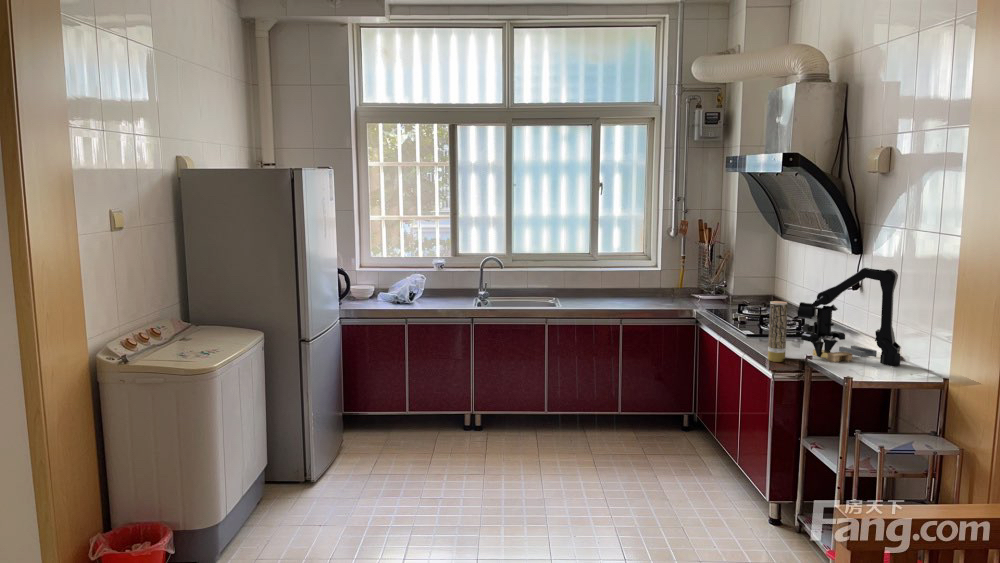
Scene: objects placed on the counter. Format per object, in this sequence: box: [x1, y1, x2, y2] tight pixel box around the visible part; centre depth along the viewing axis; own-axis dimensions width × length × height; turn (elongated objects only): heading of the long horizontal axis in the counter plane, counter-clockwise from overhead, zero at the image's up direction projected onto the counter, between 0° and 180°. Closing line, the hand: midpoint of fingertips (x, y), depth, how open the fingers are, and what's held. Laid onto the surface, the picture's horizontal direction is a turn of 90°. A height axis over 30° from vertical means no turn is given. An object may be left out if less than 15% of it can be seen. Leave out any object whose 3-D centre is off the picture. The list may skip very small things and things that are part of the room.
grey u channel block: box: [838, 345, 878, 358], centre depth 302 cm, size 12×8×4 cm
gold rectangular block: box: [812, 349, 843, 361], centre depth 293 cm, size 12×4×4 cm, turn 20°
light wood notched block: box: [826, 351, 853, 364], centre depth 287 cm, size 4×9×5 cm, turn 109°
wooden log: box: [767, 300, 788, 363], centre depth 293 cm, size 7×7×25 cm
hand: (822, 356), depth 296 cm, fingers closed on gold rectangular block, 4 cm apart
